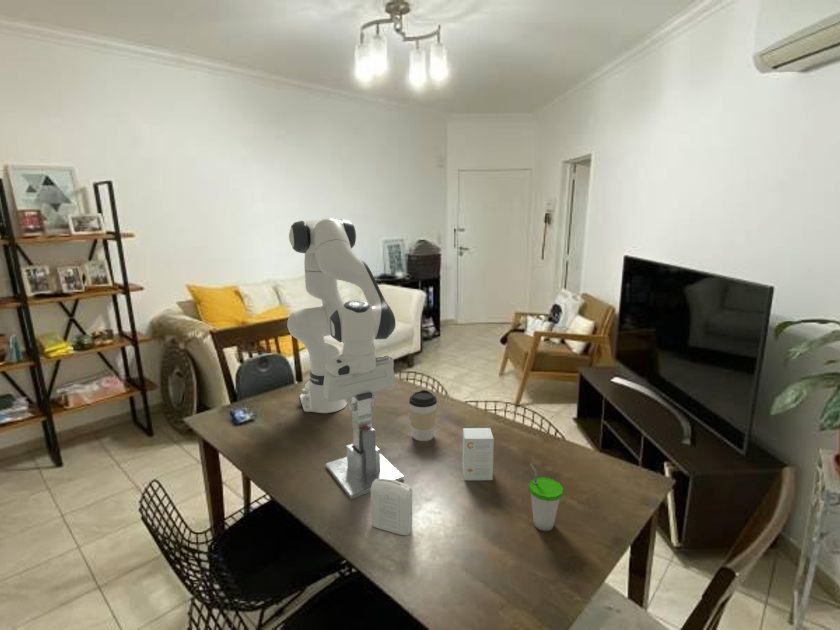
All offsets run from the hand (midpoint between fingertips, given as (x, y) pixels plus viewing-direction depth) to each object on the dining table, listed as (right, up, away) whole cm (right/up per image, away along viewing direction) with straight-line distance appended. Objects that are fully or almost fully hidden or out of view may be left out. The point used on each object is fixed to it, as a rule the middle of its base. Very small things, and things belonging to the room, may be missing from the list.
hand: (361, 408), depth 125 cm
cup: (+46, -25, -17) cm, 55 cm away
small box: (+33, -20, +4) cm, 38 cm away
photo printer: (+10, -25, -17) cm, 32 cm away
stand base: (0, -20, +5) cm, 20 cm away
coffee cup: (+17, -15, +26) cm, 34 cm away
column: (0, -14, +3) cm, 14 cm away
